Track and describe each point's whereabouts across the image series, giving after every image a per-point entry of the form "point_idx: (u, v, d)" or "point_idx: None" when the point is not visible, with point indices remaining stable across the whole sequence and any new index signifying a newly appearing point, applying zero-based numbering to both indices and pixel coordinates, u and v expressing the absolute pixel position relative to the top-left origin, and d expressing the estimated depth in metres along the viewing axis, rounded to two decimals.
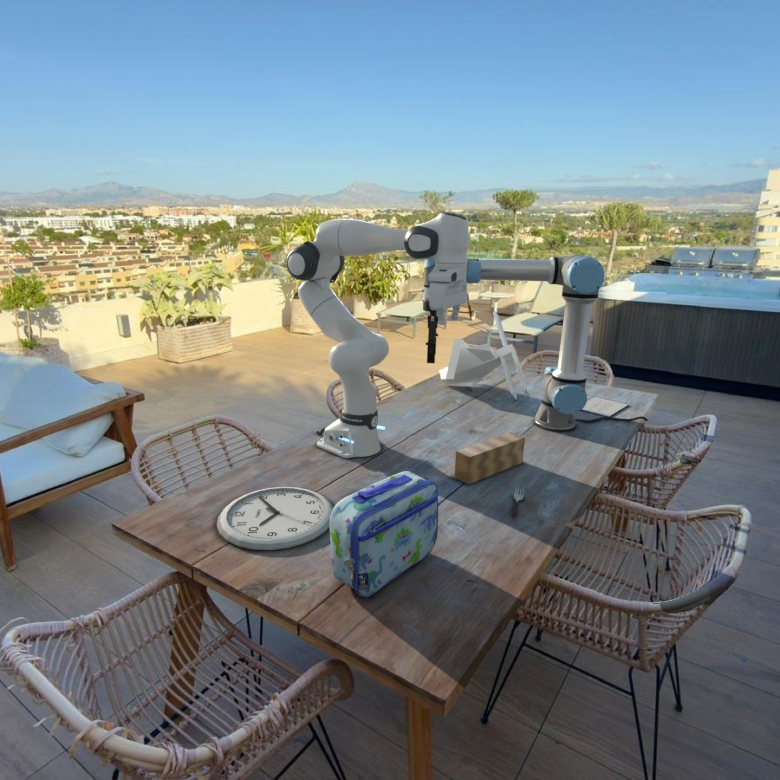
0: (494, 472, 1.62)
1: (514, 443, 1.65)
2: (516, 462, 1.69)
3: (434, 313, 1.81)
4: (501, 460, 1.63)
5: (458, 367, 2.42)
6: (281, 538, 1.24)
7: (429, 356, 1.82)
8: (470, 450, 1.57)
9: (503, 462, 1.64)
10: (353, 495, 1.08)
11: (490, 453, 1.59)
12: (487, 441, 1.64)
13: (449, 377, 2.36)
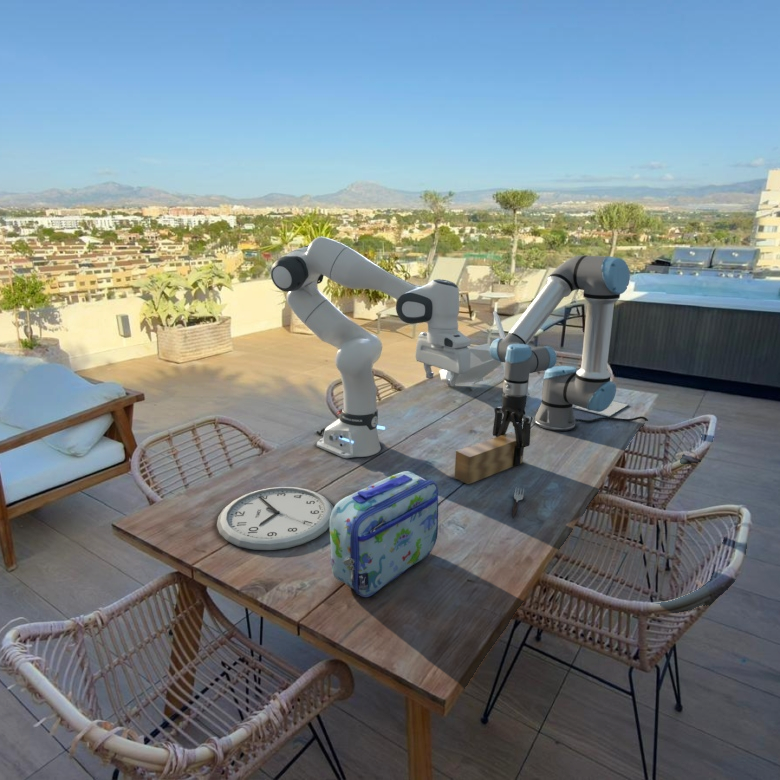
0: (494, 472, 1.62)
1: (514, 443, 1.65)
2: None
3: (524, 409, 1.63)
4: (501, 460, 1.63)
5: None
6: (281, 538, 1.24)
7: (517, 458, 1.67)
8: (470, 450, 1.57)
9: (503, 462, 1.64)
10: (353, 495, 1.08)
11: (490, 453, 1.59)
12: (487, 441, 1.64)
13: (449, 377, 2.36)
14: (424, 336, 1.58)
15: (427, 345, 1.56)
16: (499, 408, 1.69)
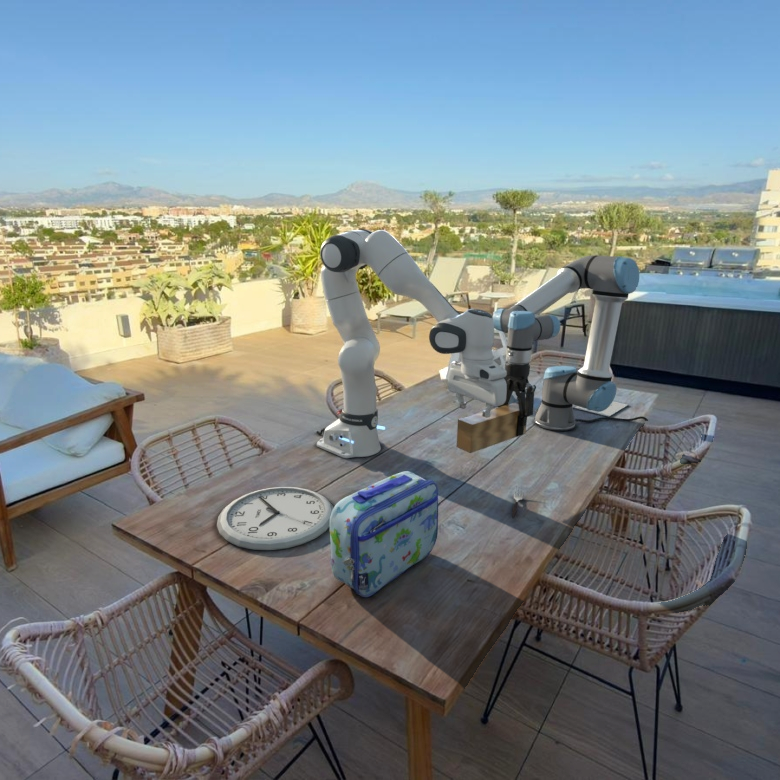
0: (497, 442, 1.59)
1: (517, 412, 1.62)
2: None
3: (527, 378, 1.60)
4: (503, 430, 1.60)
5: None
6: (281, 538, 1.24)
7: (520, 428, 1.64)
8: (472, 419, 1.54)
9: (505, 432, 1.61)
10: (353, 495, 1.08)
11: (493, 421, 1.56)
12: None
13: None
14: (457, 365, 1.55)
15: (460, 375, 1.53)
16: None
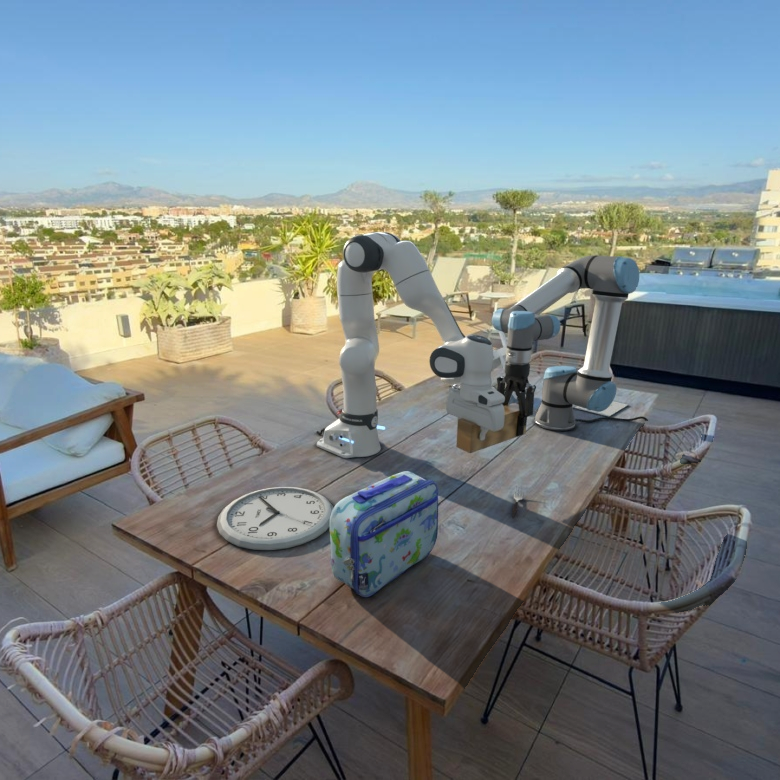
0: (497, 442, 1.59)
1: (517, 412, 1.62)
2: None
3: (527, 378, 1.60)
4: (503, 430, 1.60)
5: None
6: (281, 538, 1.24)
7: (520, 428, 1.64)
8: None
9: (505, 432, 1.61)
10: (353, 495, 1.08)
11: None
12: None
13: None
14: (456, 389, 1.57)
15: (459, 399, 1.55)
16: (502, 378, 1.66)
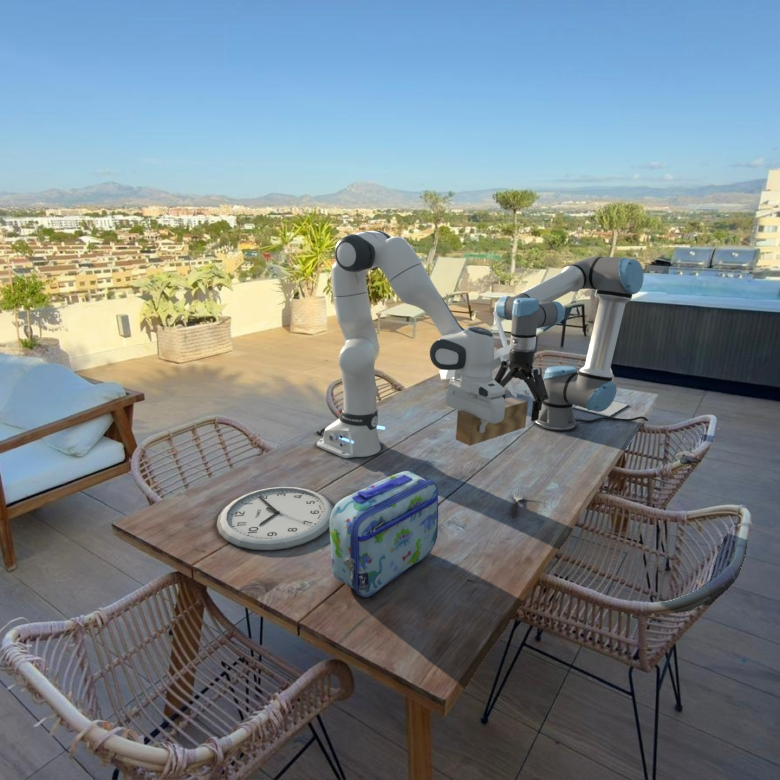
0: (496, 435, 1.59)
1: (517, 406, 1.62)
2: (519, 426, 1.65)
3: (532, 365, 1.59)
4: (503, 423, 1.60)
5: None
6: (281, 538, 1.24)
7: (535, 413, 1.61)
8: None
9: (505, 425, 1.60)
10: (353, 495, 1.08)
11: None
12: None
13: (449, 377, 2.36)
14: (456, 381, 1.57)
15: (459, 391, 1.54)
16: (506, 363, 1.66)
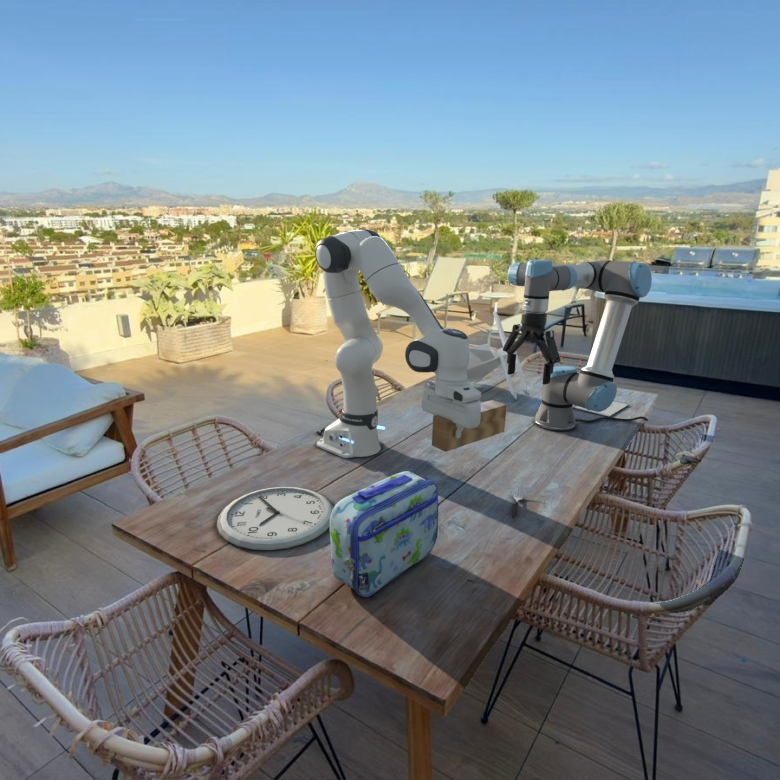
0: (474, 440, 1.54)
1: (495, 409, 1.56)
2: (497, 431, 1.60)
3: (544, 327, 1.59)
4: (481, 428, 1.54)
5: None
6: (281, 538, 1.24)
7: (546, 376, 1.60)
8: None
9: (483, 430, 1.55)
10: (353, 495, 1.08)
11: None
12: None
13: None
14: (431, 385, 1.51)
15: (434, 395, 1.49)
16: (518, 326, 1.65)
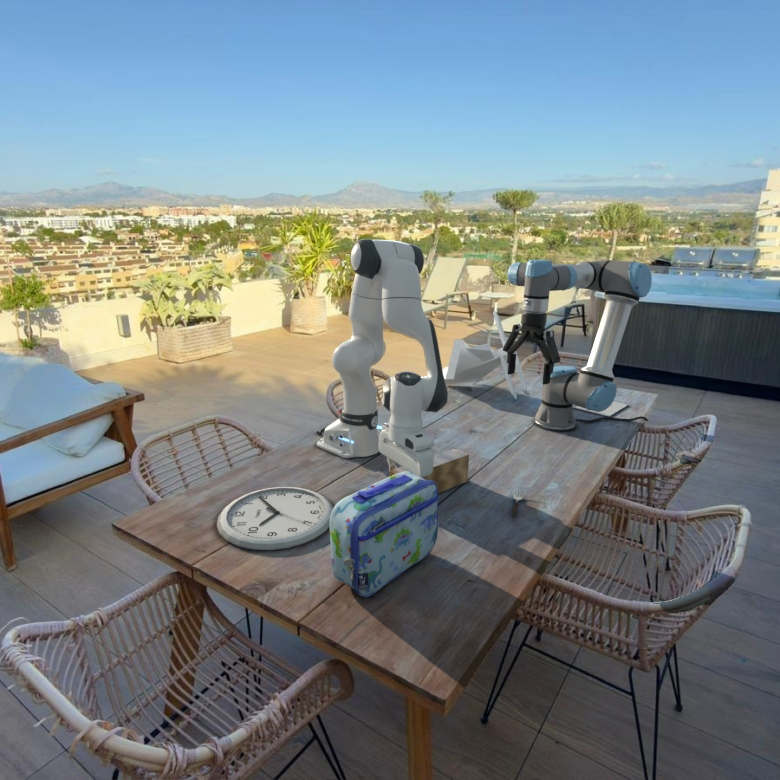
0: None
1: (456, 460, 1.52)
2: (460, 481, 1.55)
3: (544, 327, 1.59)
4: (441, 480, 1.50)
5: (458, 367, 2.42)
6: (281, 538, 1.24)
7: (546, 376, 1.60)
8: (405, 470, 1.44)
9: (443, 482, 1.51)
10: (353, 495, 1.08)
11: None
12: None
13: (449, 377, 2.36)
14: (387, 428, 1.46)
15: (389, 439, 1.44)
16: (518, 326, 1.65)
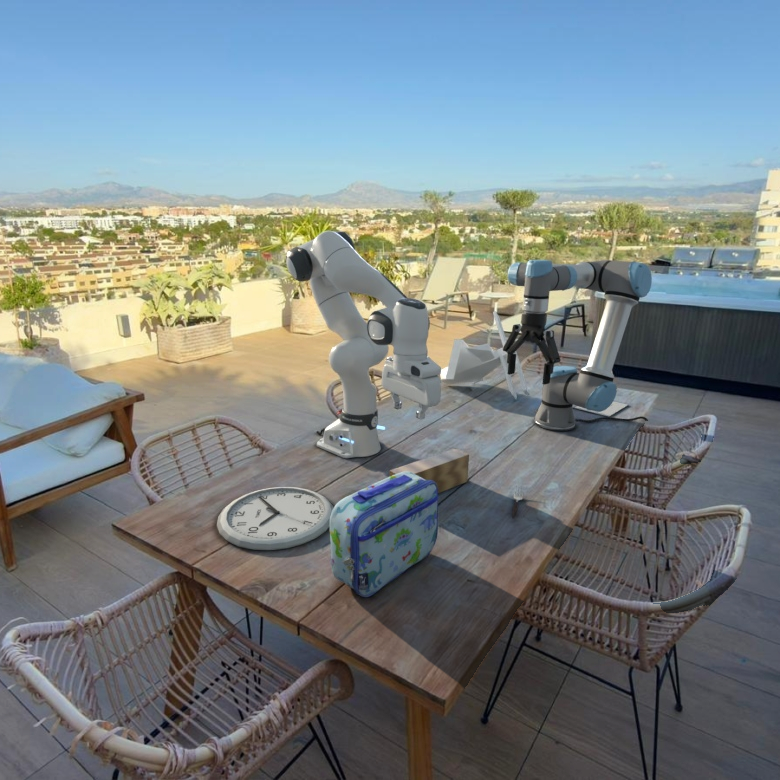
0: None
1: (456, 460, 1.52)
2: (460, 481, 1.55)
3: (544, 327, 1.59)
4: (441, 480, 1.50)
5: (458, 367, 2.42)
6: (281, 538, 1.24)
7: (546, 376, 1.60)
8: (405, 470, 1.44)
9: (443, 482, 1.51)
10: (353, 495, 1.08)
11: (427, 472, 1.45)
12: (426, 459, 1.51)
13: (449, 377, 2.36)
14: (391, 361, 1.40)
15: (393, 372, 1.38)
16: (518, 326, 1.65)
